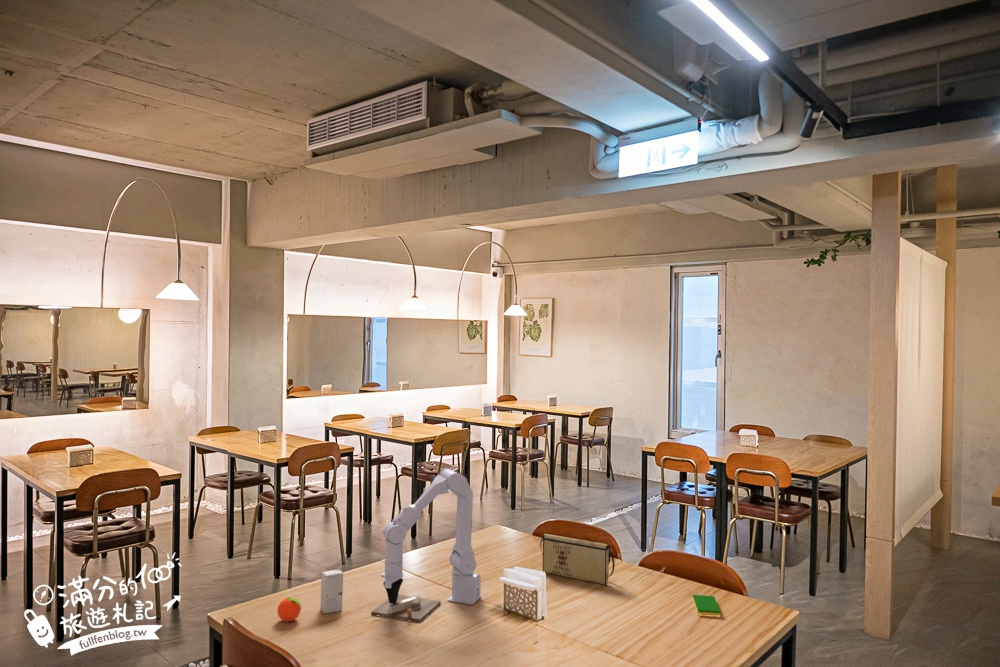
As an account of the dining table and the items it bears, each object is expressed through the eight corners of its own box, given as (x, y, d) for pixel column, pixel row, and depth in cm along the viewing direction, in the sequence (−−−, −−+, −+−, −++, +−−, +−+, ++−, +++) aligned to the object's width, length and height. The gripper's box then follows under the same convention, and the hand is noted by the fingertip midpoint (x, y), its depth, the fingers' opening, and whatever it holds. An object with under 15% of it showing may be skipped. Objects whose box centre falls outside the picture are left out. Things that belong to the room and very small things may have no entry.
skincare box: (324, 614, 212) (325, 575, 212) (319, 609, 215) (320, 571, 216) (343, 610, 215) (343, 572, 215) (338, 605, 219) (339, 568, 219)
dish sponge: (714, 603, 228) (714, 595, 228) (720, 619, 214) (720, 611, 214) (692, 601, 229) (692, 594, 229) (697, 617, 215) (697, 609, 215)
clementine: (308, 618, 208) (308, 595, 208) (294, 627, 202) (294, 603, 202) (286, 614, 211) (287, 592, 211) (272, 623, 204) (272, 600, 204)
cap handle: (415, 601, 219) (416, 594, 219) (422, 605, 217) (423, 597, 217) (386, 611, 211) (386, 604, 211) (393, 615, 208) (393, 607, 209)
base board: (440, 604, 222) (440, 594, 222) (419, 622, 206) (419, 612, 206) (394, 597, 227) (394, 587, 227) (371, 615, 212) (371, 604, 212)
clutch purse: (617, 582, 246) (617, 541, 246) (610, 587, 240) (610, 546, 240) (544, 567, 261) (545, 529, 261) (536, 572, 255) (537, 533, 255)
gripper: (387, 553, 224) (386, 594, 224) (375, 567, 210) (374, 610, 209) (408, 554, 224) (407, 595, 223) (397, 568, 209) (396, 612, 209)
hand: (392, 602), depth 216 cm, fingers closed
